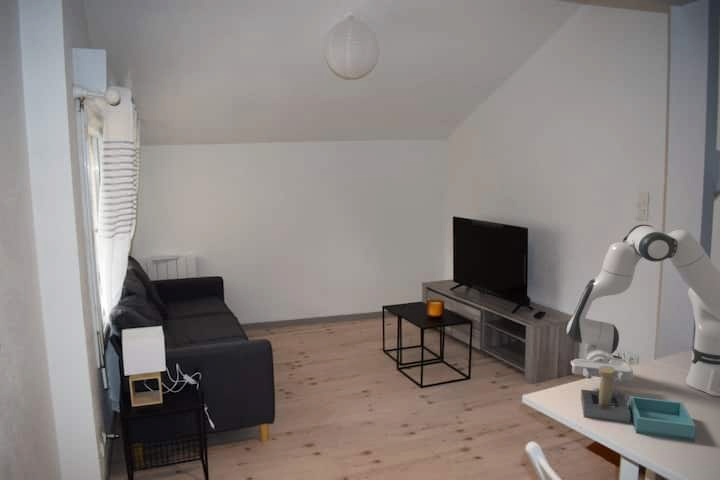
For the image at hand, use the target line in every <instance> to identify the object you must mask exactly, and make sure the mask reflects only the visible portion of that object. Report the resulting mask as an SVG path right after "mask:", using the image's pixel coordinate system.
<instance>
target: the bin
mask: <svg viewBox="0 0 720 480" xmlns="http://www.w3.org/2000/svg"><path fill="white" fill-rule="evenodd" d="M628 407H629V410H630V413H631V414H630V415H631V416H630V419H631V418H632V419H631V421H632V424H633V428H634V430H635V433H636V434H641V435H647V436H649V435H650V436H655V437H663V438H669V439H678V440H683V441H690V442H694V441H695V436H696V435H695V434H696V424H695V422H694V420H693V419H692V418H691V415H690V413H689V412H688V410H687V408H686V406H685V405H684V402H681V401H674V400H666V399H659V398H651V397H650V398H648V397H643V396H642V397H641V396H633V395H629V398H628Z"/></svg>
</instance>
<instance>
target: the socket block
mask: <svg viewBox="0 0 720 480" xmlns="http://www.w3.org/2000/svg"><path fill="white" fill-rule="evenodd" d="M580 401H581V407H582V408H581V409H582V413H583V415H582V416H583V418H589V419H596V420H603V421H611V422H617V423H625V424H630V423H631V416H630V414H631V413H630V410H629V403H628V401H627V399H626V396H625V394H623V393H616V392H615V393H614V392H612V395H611V404H610V406H604V405H599V390H598V391H597V390H589V389H582V388H581V391H580ZM612 406H614V407H612Z"/></svg>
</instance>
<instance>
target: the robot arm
mask: <svg viewBox="0 0 720 480" xmlns="http://www.w3.org/2000/svg"><path fill="white" fill-rule="evenodd" d="M641 259H644V260H646V261H650V262H655V263H656V262H662V261H665V260H667V259H670V261H671V264H672V265H673V266H674V268H675V269H676V271H677V272H678V274H679V276H680V277H681V279H682V280H683V281H684V283H685V284H687V286H688V287H689V288H688V290H687V295H688V298H689V300H690V303H691V305H692V311H693V312H692V313H693V317H694V324H695V325H694V327H695V333H694V343H693V346H692V349H691V355H690V356H691V357H690V358H691V359H690V360H691V364H690V368H689V371H688V375H687V377H686V378H685V383H686V384H687V386H689V387H692V388H693V389H696V390H698V391H702V392H704V393H707V394H709V395H711V396H714V397H720V270H719V269H718V268H717V267H716V266H715V264H714V263H713V261H712V259H711V258H710V257H709V255H708V254H707V252H706V250H705V249H704V247H703V246H702V245H701V244H700V242H699V241H698V239H696V238H695V237H694V236H693V235H692V233H690V232H689V231H688V230H685V229H676V230H673V231H670V232H669V233H664V232H663V231H661V230H660V229H658V228H655V227H654V226H652V225H649V224H639V225H635V226H633V228H631V229H630V231H629V232H628V233H627V235H626V236H625V237H624V238H623V240H622V241H618V242H614V243H612V244H611V245H610V246H609V247H608V250H607V251H606V254H605V257H604V259H603V263H602V266H601V270H600V272H599V274H598V275H597V276H596V277H595V278H594V279H590V280H589V281H588V283H587V285H586V286H585V288H584V291H582V295H581V297H580V298H579V301H578V303H577V306H576V308H575V310H574V312H573V314H572V316H571V318H570V320H569V321H568V322H567V326H566V336H567V337H568V338H569V339H570V341H572V342H573V343H579V344H585V345H586V346H585V349H584V351H585V353H584V354H585V355H584V356H585V359H584V358H574V359H573V360H570V366H571V373H572V374H573V375H578V376H579V375H580V376H584V377H586V379H592V377H599V378H601V374H599V368H600V367H601V366H611V367H613V368H614V369H615V375H614V376H612V380H614V381H615V383H621V381H622V380H623V381H632V380H633V378H634V377H633V375H634V370H633V368H632V366H631V365H630V363H628V362H627V360H626V358H625V357H623V356H618V355H614V353H615V351H617V348H618V347H619V341H620V333H619V330H618V328H617V327H616V325H615V324H614V323H611V322H610V323H609V322H605V321H600V320H594V319H589V318H586V316H587V314H588V313H589V309H590V307H591V305H592V303H593V302H594V301H595V300H596V299H600V298H601V297H608V296H610V297H611V296H616V295H620V294H622V293H625V292H626V291H627V290H629V288H630V287H631V284H632V282H633V279H634V276H635V271H636V266H637V265H638V263H639V262H640V261H641Z"/></svg>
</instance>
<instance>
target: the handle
mask: <svg viewBox="0 0 720 480" xmlns="http://www.w3.org/2000/svg"><path fill="white" fill-rule="evenodd" d="M599 374H601V377H600V383H599V390H598V391H599V405H604V406H610V404H611V395H612V393H613V392H612V391H613V390H612V380H613V378H612V376H614V375H615V369H614V368H613V367H611V366H601V367H600V368H599Z"/></svg>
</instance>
